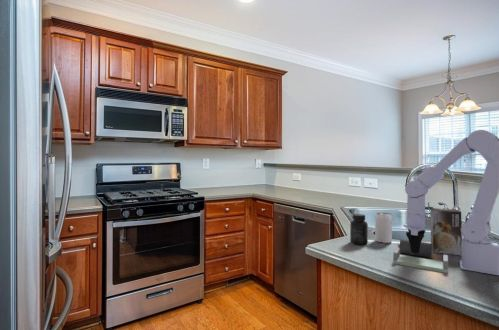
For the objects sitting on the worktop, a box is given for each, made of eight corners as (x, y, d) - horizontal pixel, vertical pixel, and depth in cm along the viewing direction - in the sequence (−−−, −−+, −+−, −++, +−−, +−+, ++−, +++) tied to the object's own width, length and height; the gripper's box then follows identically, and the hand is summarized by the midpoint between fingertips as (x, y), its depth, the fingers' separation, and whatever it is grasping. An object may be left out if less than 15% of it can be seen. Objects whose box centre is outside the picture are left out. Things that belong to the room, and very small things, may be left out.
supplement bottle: (354, 240, 125) (354, 212, 125) (370, 243, 120) (370, 214, 120) (347, 243, 120) (347, 214, 120) (363, 246, 116) (363, 217, 115)
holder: (447, 265, 95) (447, 254, 95) (447, 273, 88) (447, 261, 88) (396, 256, 103) (396, 247, 103) (393, 263, 97) (393, 253, 97)
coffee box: (458, 251, 110) (458, 209, 110) (462, 256, 104) (462, 212, 104) (430, 247, 114) (430, 207, 114) (432, 252, 108) (432, 210, 108)
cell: (432, 255, 105) (432, 242, 104) (431, 259, 100) (431, 245, 100) (398, 250, 111) (399, 237, 111) (397, 254, 106) (397, 240, 106)
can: (372, 241, 123) (372, 213, 123) (378, 238, 128) (378, 211, 128) (388, 244, 119) (388, 215, 119) (394, 241, 123) (394, 213, 123)
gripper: (405, 210, 113) (405, 244, 114) (401, 215, 101) (401, 254, 102) (426, 211, 109) (426, 247, 110) (424, 218, 97) (424, 257, 98)
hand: (415, 250), depth 105 cm, fingers closed on cell, 5 cm apart
